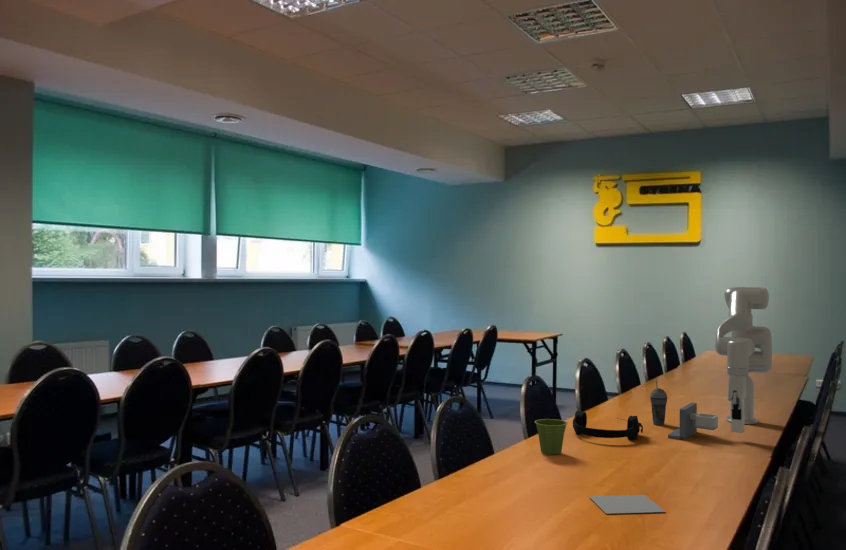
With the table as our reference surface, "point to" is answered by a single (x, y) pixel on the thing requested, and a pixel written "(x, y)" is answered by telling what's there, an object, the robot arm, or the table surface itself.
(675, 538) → the table surface
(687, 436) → the bracket
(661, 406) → the beverage cup
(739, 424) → the rail
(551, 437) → the plant pot
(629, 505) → the grey flat square slab
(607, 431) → the headset
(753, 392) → the robot arm
